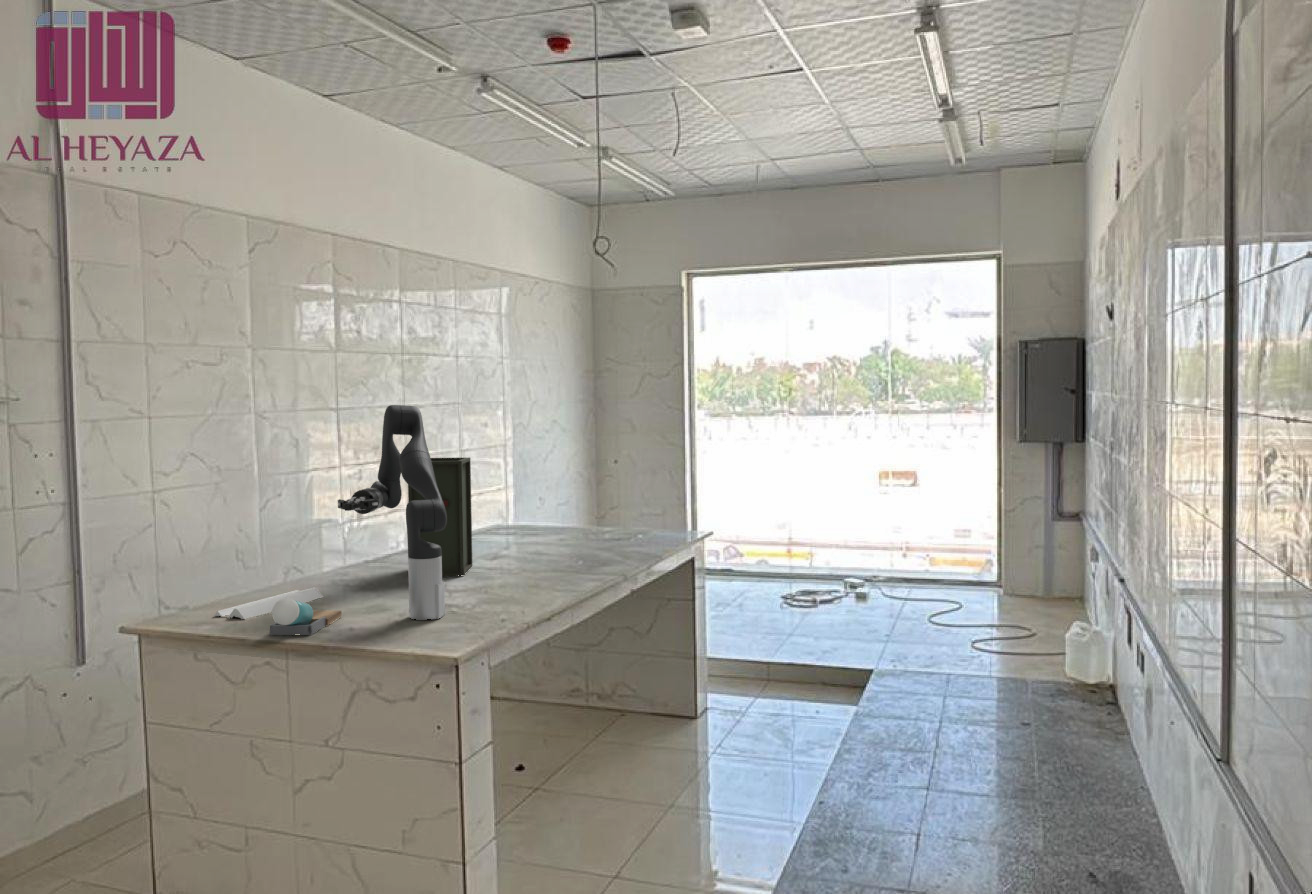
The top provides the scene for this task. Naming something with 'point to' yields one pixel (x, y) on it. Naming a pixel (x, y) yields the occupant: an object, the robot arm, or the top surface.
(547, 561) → the top surface
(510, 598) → the top surface
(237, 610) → the crown molding
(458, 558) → the first aid box
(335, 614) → the light tan wooden board
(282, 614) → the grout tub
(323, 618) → the tray
